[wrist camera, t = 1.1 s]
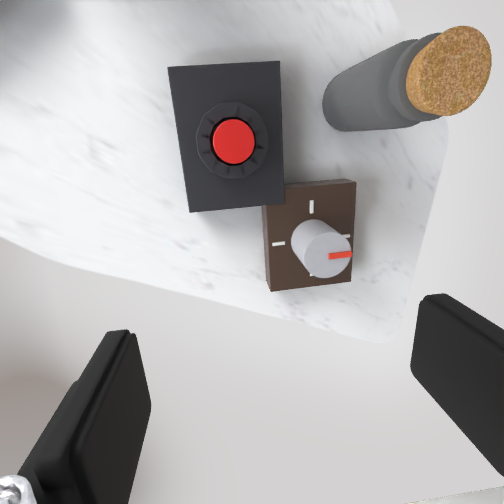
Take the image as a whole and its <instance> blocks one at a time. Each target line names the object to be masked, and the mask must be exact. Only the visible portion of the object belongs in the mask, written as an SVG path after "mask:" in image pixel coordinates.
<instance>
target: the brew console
mask: <svg viewBox="0 0 504 504" xmlns="http://www.w3.org/2000/svg"><path fill="white" fill-rule="evenodd" d="M355 198H356V182H354V181H351V180H348V179H336V180H325V181H314V182H304V183H293V184H284V203H282V204H272V205H262V218H263V234H264V250H265V267H266V281H267V284H268V286H269V289H270V291H271V292H273V291H280V290H288V289H296V288H304V287H312V286H319V285H327V284H335V283H343V282H351V271H352V257H350V261H349V263H348V265H347V266H346V267H345V269H344V270H343V271H342V272H340V273H339V274H337V275H335V276H333V277H330V278H319V277H316V276H314V275H312V274H311V273H309V272H308V270H307V269H306V268H305V266H304V265H303V264H302V262H301V261H300V259H299V258H298V257H297V255H296V254H295V253H294V251H293V249H292V246H291V237H292V234H293V232H294V230H295V229H296V228H297V227H298V226H299V225H300V224H301V223H303V222H305V221H307V220H311V219H316V220H321V221H323V222H325V223H326V224H327V225H329V226H330V227H332V228H333V229H334V230H336V231H337V232H338V233H340V234H341V235H343V236H344V237H345V238H346V239H347V240H348V242H349V244H350V247H351V251H352V253H353V234H354V216H355Z"/></svg>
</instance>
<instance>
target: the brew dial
mask: <svg viewBox="0 0 504 504" xmlns="http://www.w3.org/2000/svg"><path fill="white" fill-rule="evenodd" d="M291 246H292V249H293V251H294V253H295V254H296V255H297V257H298V258H299V259H300V261H301V262H302V264H303V265H304V266H305V268H306V269H307V270H308V272H309V273H311V274H312V275H314V276H316V277H319V278H330V277H333V276H335V275H337V274H339V273H340V272H342V271H343V270H344V269H345V267H346V266H347V265H348V263H349V261H350V257H352V251H351V247H350V244H349V242H348V240H347V239H346V238H345V237H344V236H343V235H341V234H340V233H338V232H337V231H336V230H334V229H333V228H332V227H330V226H329V225H327V224H326V223H325V222H323V221H321V220H316V219H311V220H307V221H305V222H303V223H301V224H300V225H299V226H298V227H297V228H296V229H295V230H294V232H293V234H292V237H291Z"/></svg>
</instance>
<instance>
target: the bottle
mask: <svg viewBox="0 0 504 504" xmlns="http://www.w3.org/2000/svg"><path fill="white" fill-rule="evenodd" d="M490 70H491V50H490V47H489V44H488V41H487V40H486V38H485V37H484V35H483V34H482V33H481V32H480V31H478V30H477V29H475V28H473V27H469V26H458V27H453V28H450V29H448V30H446V31H445V32H443V33H434V34H431V35H428V36H425V37H423V38H421V39H419V40H418V39H415V40H414V39H413V40H407V41H403V42H401V43H399V44H396V45H394V46H392V47H390V48H388V49H386V50H384V51H382V52H380V53H378V54H376V55H374V56H372V57H371V58H369V59H367V60H365V61H363V62H361V63H359V64H357V65H355V66H353V67H351V68H349V69H348V70H346V71H344V72H342V73H340V74H339V75H337V76H336V77H335V78H334V79H332V81H331V82H330V83H329V85H328V86H327V88H326V90H325V93H324V96H323V103H322V106H323V113H324V116H325V118H326V120H327V121H328V123H329V124H330V125H331V126H332V127H334V128H335V129H337V130H340V131H367V130H383V129H397V128H406V127H410V126H414V125H416V124H418V123H420V122H422V121H431V120H435V119H437V118H440V117H442V116H451V115H454V114H457V113H460V112H462V111H463V110H465V109H467V108H468V107H469V106H470V105H472V104H473V103H474V102H475V101H476V100H477V98H478V97H479V96H480V94H481V93H482V91H483V90H484V87H485V86H486V83H487V81H488V78H489V75H490Z"/></svg>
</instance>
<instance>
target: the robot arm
mask: <svg viewBox="0 0 504 504" xmlns="http://www.w3.org/2000/svg"><path fill="white" fill-rule="evenodd" d="M410 365H411V366H410V367H411V371H412V373H413V375H414V377H415V378H416V379H417V380H418V381H419V383H420V384H421V385H422V386H423V387H424V388H425V389H426V391H427V392H428V393H429V394H430V395H431V396H432V397H433V398H434V399H435V401H436V402H437V403H438V404H439V405H440V406H441V408H442V409H443V410H444V411H445V412H446V413H447V414H448V415H449V417H450V418H451V419H452V420H453V421H454V422H455V423H456V425H457V426H458V427H459V428H460V429H461V430H462V432H463V433H464V434H465V435H466V436H467V437H468V438H469V440H471V442H472V443H473V444H474V445H475V446H476V448H477V449H478V450H479V451H480V452H481V453H482V454H483V456H484V457H485V458H486V459H487V460H488V461H489V462H490V463H491V465H492V466H493V467H494V468H495V469H496V470H497V471H498V472H499V473H500V474H501V475H502V476H504V330H503V329H502V328H500V327H499V326H497V325H495V324H494V323H492V322H491V321H489V320H487V319H486V318H484V317H483V316H481V315H479V314H478V313H476V312H475V311H473V310H471V309H470V308H468V307H467V306H465V305H463V304H462V303H460V302H459V301H457V300H455V299H454V298H452V297H451V296H449V295H447V294H433V295H427V296H425V297H424V299H423V300H422V301H421V302H420V304H419V310H418V316H417V323H416V330H415V337H414V344H413V350H412V357H411V364H410ZM150 412H151V400H150V395H149V390H148V386H147V382H146V377H145V373H144V368H143V364H142V359H141V355H140V350H139V346H138V342H137V338H136V335H135V334H134V333H132V334H130V332H129V330H117V331H109V332H107V333H106V334H105V336H104V338H103V340H102V341H101V343H100V345H99V346H98V348H97V349H96V351H95V353H94V354H93V356H92V358H91V360H90V361H89V363H88V364H87V366H86V368H85V369H84V371H83V373H82V374H81V376H80V378H79V379H78V380H77V381H75V382H74V383H73V384H72V386H71V387H70V389H69V390H68V392H67V393H66V395H65V397H64V398H63V400H62V402H61V403H60V405H59V407H58V409H57V410H56V411H55V413H54V415H53V416H52V418H51V420H50V422H49V423H48V424H47V426H46V428H45V429H44V431H43V433H42V434H41V436H40V438H39V439H38V441H37V443H36V444H35V446H34V447H33V449H32V451H31V452H30V454H29V456H28V457H27V459H26V460H25V462H24V464H23V465H22V467H21V469H20V470H19V472H18V474H17V475H12V476H4V477H1V478H0V504H128V501H129V497H130V493H131V489H132V485H133V481H134V477H135V473H136V469H137V465H138V461H139V457H140V453H141V449H142V445H143V441H144V437H145V433H146V429H147V425H148V421H149V417H150ZM407 504H504V486H503V487H498V488H492V489H486V490H480V491H474V492H469V493H463V494H457V495H451V496H446V497H440V498H435V499H429V500H423V501H418V502H413V503H407Z"/></svg>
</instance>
